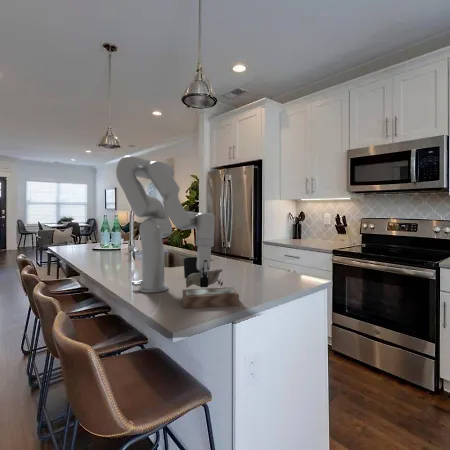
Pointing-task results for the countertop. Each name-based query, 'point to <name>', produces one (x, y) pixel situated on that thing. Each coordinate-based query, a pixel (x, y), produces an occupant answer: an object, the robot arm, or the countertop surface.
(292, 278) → the countertop surface
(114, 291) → the countertop surface
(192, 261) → the pen holder
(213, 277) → the decorative bird
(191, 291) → the walnut plinth
